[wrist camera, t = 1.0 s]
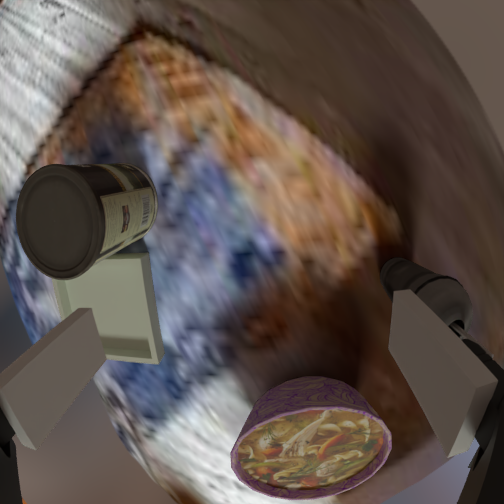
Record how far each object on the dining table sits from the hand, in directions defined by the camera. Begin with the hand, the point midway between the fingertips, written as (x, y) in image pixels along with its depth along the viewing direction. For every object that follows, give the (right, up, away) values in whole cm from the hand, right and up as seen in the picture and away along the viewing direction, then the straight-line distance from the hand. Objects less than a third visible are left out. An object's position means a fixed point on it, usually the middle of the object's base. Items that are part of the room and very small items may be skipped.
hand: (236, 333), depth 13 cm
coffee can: (-16, +9, +25) cm, 31 cm away
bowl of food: (+9, -19, +31) cm, 37 cm away
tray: (-19, -4, +28) cm, 34 cm away
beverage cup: (+19, +1, +25) cm, 31 cm away
